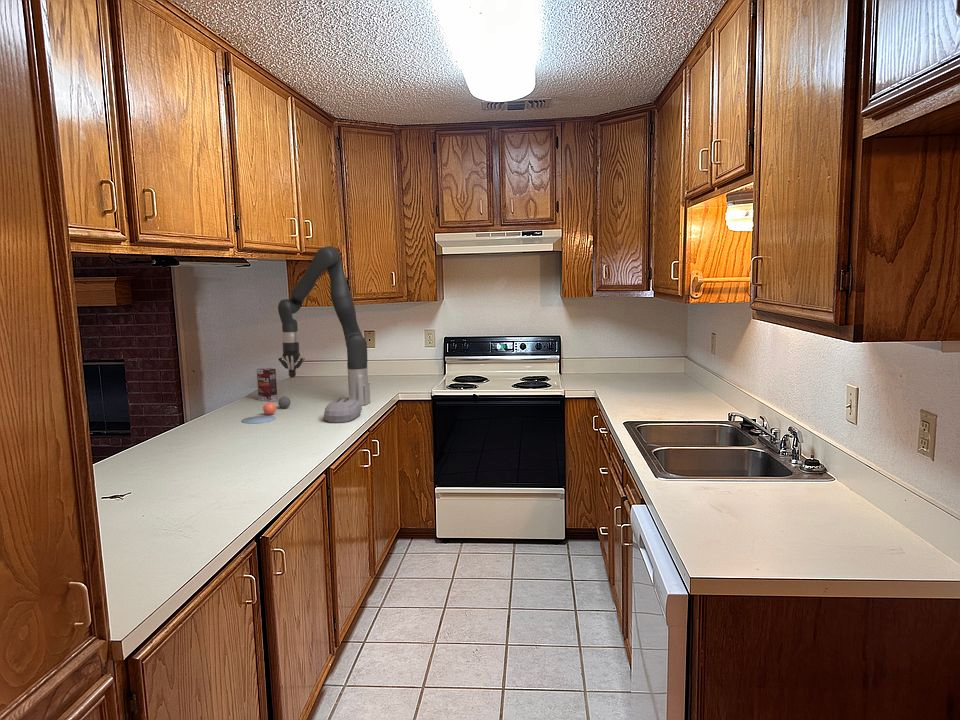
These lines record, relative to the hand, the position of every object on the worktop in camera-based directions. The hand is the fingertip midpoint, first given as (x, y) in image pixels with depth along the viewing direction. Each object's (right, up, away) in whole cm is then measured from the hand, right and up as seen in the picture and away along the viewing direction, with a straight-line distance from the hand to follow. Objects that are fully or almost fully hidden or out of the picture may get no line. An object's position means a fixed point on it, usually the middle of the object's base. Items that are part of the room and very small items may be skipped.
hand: (292, 377), depth 310 cm
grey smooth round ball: (-1, -12, -8) cm, 14 cm away
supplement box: (-16, -12, +13) cm, 24 cm away
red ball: (-4, -13, -22) cm, 26 cm away
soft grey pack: (+31, -17, -32) cm, 48 cm away
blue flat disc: (-6, -18, -31) cm, 36 cm away
